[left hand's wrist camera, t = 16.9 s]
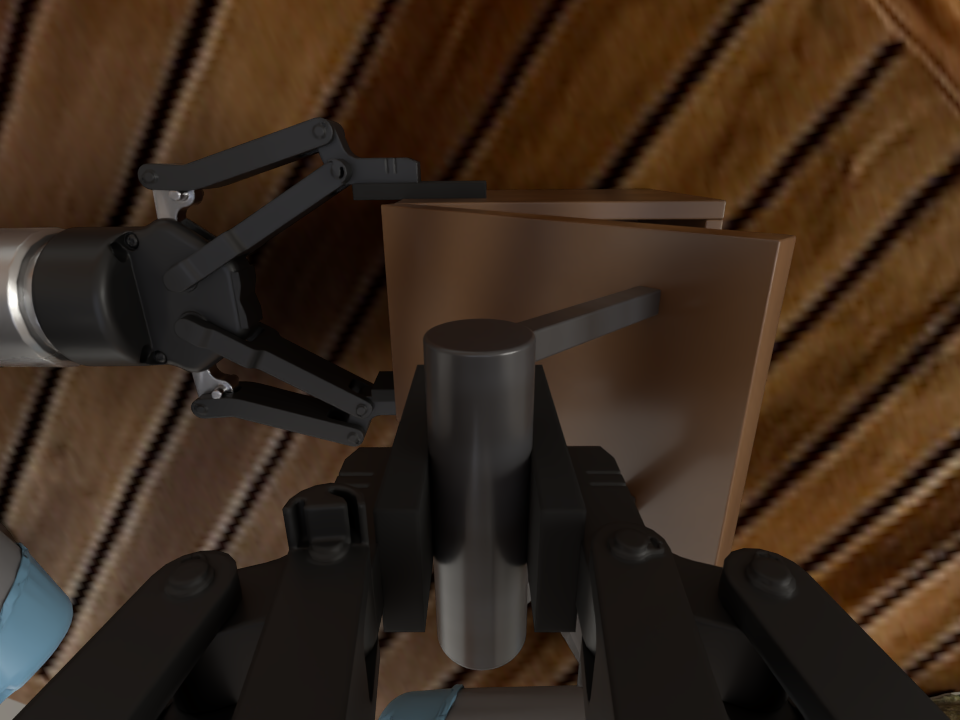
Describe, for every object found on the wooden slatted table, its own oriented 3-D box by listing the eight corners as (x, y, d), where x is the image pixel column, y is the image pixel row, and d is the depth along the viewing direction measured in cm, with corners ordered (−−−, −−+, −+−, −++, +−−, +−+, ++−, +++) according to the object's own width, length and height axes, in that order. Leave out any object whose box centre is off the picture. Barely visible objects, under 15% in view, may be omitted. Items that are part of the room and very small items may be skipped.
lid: (797, 235, 12) (577, 299, 7) (725, 578, 16) (546, 805, 10) (402, 203, 23) (191, 217, 17) (414, 412, 26) (244, 480, 21)
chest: (649, 188, 33) (726, 200, 23) (633, 340, 37) (694, 408, 26) (419, 190, 33) (393, 202, 23) (426, 341, 37) (406, 411, 26)
